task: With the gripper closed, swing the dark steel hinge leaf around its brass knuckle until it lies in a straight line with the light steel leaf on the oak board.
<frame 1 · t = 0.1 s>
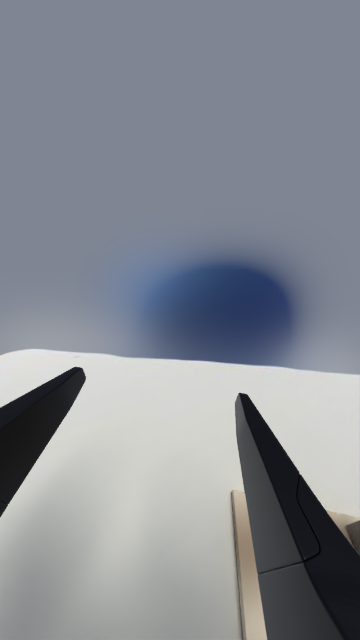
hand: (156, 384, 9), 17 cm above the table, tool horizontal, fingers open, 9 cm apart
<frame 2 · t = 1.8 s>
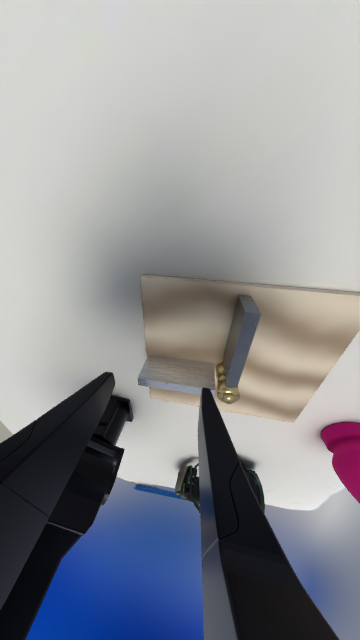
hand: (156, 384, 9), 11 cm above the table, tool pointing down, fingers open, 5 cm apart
fixed leaf: (225, 368, 21), resting on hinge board
swing leaf: (234, 352, 17), point 3 cm above the table, hinge at 0.0°
pepper mill: (343, 431, 26), on the table
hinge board: (230, 357, 22), on the table
headphones: (216, 466, 39), on the table
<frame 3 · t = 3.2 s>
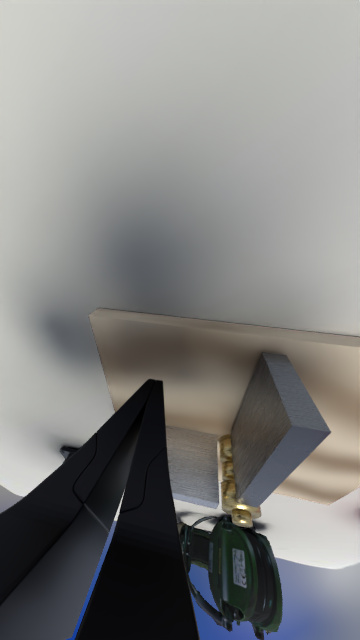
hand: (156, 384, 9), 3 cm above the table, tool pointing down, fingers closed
fixed leaf: (233, 441, 14), resting on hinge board
swing leaf: (253, 445, 10), point 3 cm above the table, hinge at 0.0°
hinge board: (240, 424, 14), on the table
headphones: (218, 521, 32), on the table
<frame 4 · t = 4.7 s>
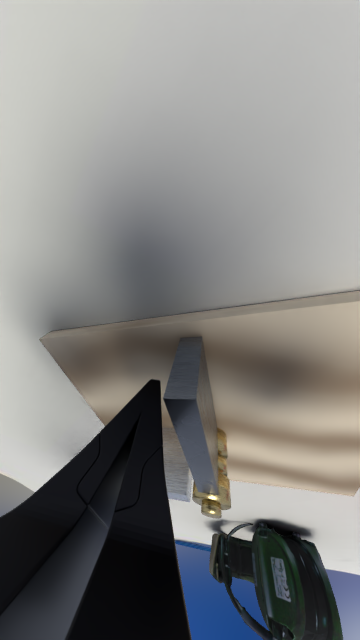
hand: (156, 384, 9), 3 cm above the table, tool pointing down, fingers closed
fixed leaf: (211, 434, 14), resting on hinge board
swing leaf: (203, 431, 10), point 3 cm above the table, hinge at -1.9°, touching gripper
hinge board: (215, 415, 14), on the table
headphones: (259, 529, 29), on the table
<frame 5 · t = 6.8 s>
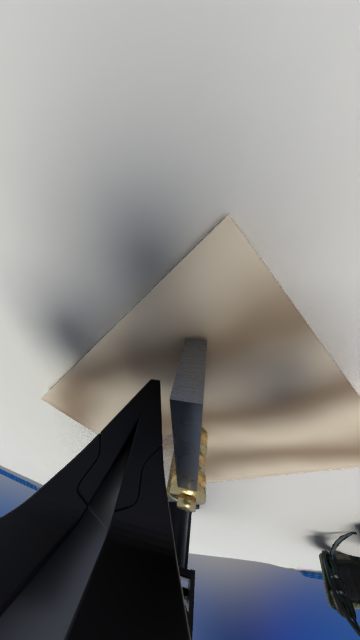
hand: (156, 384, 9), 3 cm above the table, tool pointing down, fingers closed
fixed leaf: (193, 432, 14), resting on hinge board
swing leaf: (191, 430, 10), point 3 cm above the table, hinge at -42.5°, touching gripper
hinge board: (191, 413, 15), on the table
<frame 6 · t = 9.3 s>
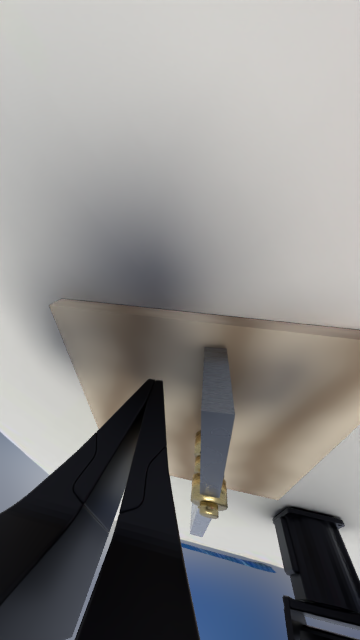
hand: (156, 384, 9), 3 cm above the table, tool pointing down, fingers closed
fixed leaf: (209, 437, 14), resting on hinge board
swing leaf: (211, 437, 10), point 3 cm above the table, hinge at -84.9°
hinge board: (199, 420, 15), on the table
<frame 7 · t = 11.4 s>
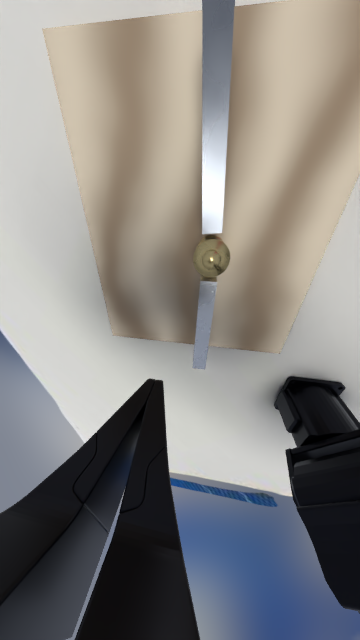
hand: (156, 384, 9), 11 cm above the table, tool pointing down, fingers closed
fixed leaf: (210, 250, 14), resting on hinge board
swing leaf: (212, 176, 10), point 3 cm above the table, hinge at -84.9°
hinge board: (199, 242, 15), on the table
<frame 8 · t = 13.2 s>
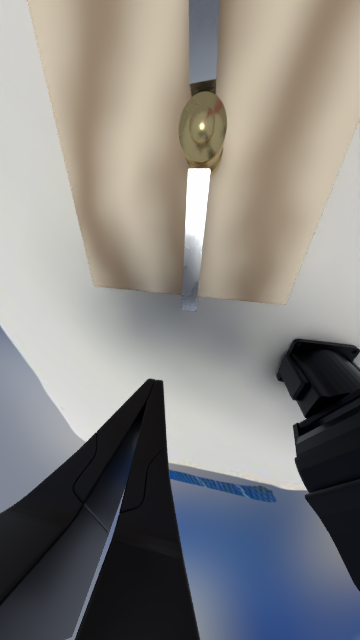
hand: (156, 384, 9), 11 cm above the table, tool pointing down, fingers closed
fixed leaf: (204, 156, 12), resting on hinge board
swing leaf: (205, 5, 8), point 3 cm above the table, hinge at -84.9°
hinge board: (192, 152, 12), on the table
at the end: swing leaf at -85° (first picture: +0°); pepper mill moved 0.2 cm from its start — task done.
